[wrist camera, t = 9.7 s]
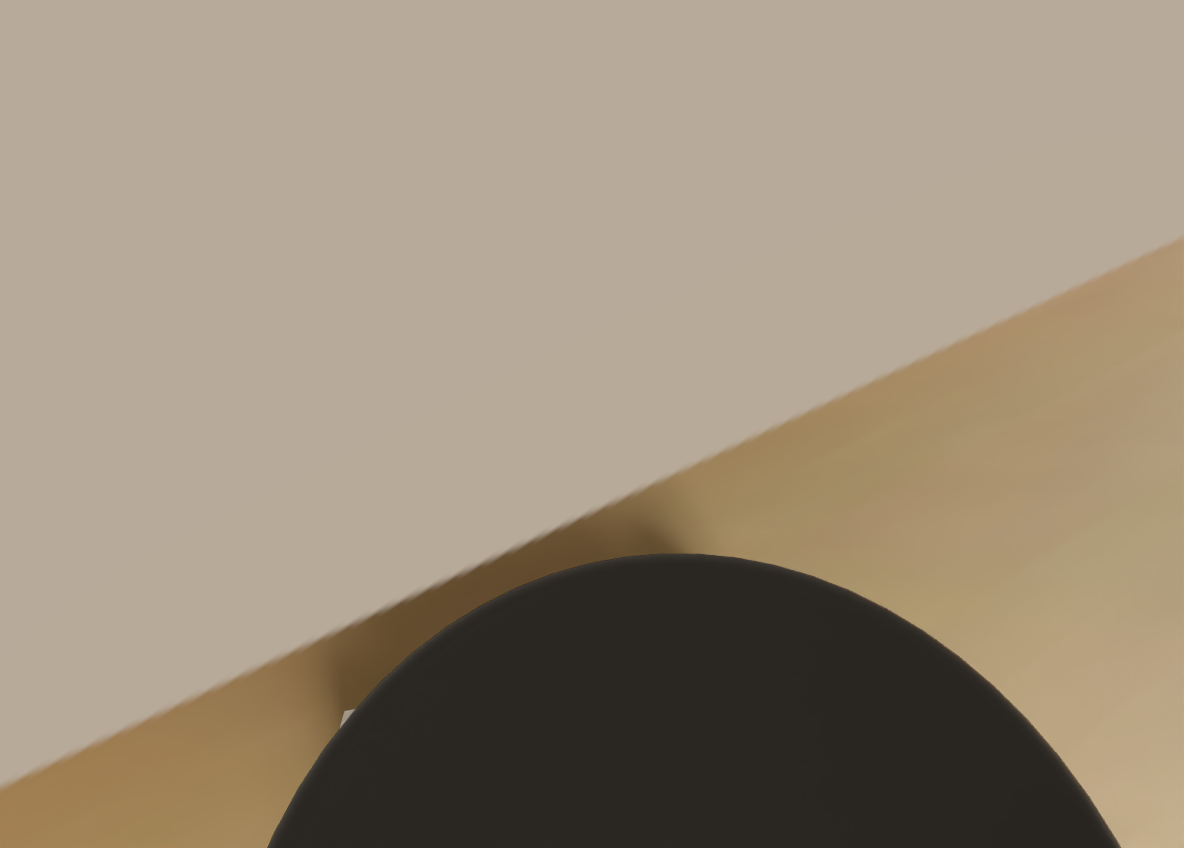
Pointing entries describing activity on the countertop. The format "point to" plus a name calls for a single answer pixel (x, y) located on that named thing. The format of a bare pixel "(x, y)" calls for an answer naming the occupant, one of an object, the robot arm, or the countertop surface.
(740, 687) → the jar
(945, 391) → the countertop surface
